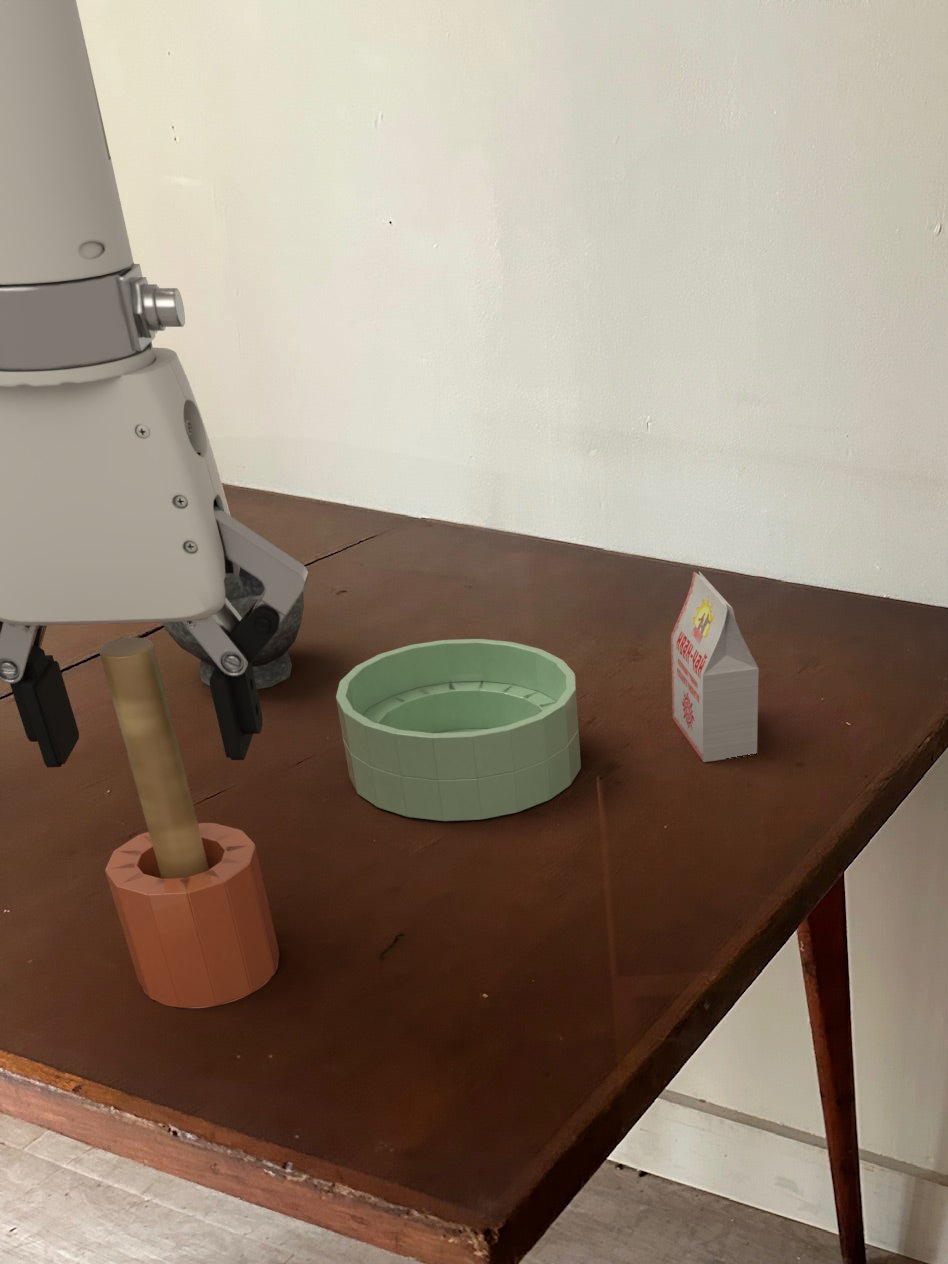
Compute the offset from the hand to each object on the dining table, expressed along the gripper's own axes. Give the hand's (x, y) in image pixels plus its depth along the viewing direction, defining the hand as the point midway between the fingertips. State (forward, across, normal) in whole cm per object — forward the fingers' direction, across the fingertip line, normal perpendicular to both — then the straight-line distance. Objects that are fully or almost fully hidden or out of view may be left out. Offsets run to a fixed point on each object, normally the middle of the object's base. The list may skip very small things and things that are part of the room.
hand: (152, 747), depth 65 cm
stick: (+12, 0, 0) cm, 12 cm away
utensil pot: (+13, 0, 0) cm, 13 cm away
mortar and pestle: (+13, +4, -37) cm, 39 cm away
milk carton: (+13, -28, -25) cm, 40 cm away
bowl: (+13, -12, -21) cm, 27 cm away
